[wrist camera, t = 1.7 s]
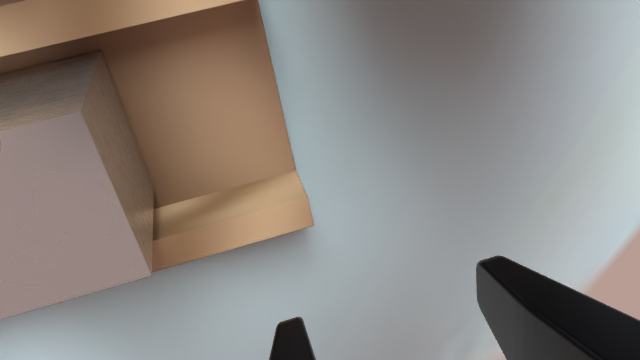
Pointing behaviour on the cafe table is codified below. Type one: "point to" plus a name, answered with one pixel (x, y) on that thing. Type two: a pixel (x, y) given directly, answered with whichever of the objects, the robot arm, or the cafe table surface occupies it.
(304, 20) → the cafe table surface
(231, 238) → the brown shallow tray
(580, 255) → the cafe table surface
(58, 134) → the grey pink cube
